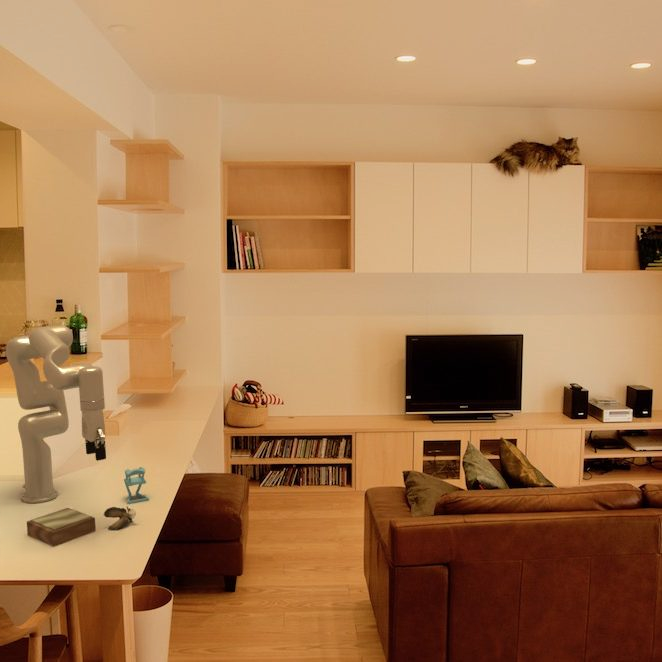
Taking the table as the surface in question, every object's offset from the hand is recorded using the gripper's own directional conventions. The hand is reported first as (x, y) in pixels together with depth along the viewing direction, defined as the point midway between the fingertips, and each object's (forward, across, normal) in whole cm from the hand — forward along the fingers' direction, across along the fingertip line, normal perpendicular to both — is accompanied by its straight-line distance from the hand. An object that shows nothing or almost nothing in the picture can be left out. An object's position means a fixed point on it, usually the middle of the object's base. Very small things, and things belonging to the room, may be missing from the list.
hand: (96, 456), depth 241 cm
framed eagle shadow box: (+24, -3, -12) cm, 27 cm away
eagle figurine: (+24, +2, +6) cm, 25 cm away
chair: (+24, -19, +19) cm, 36 cm away
